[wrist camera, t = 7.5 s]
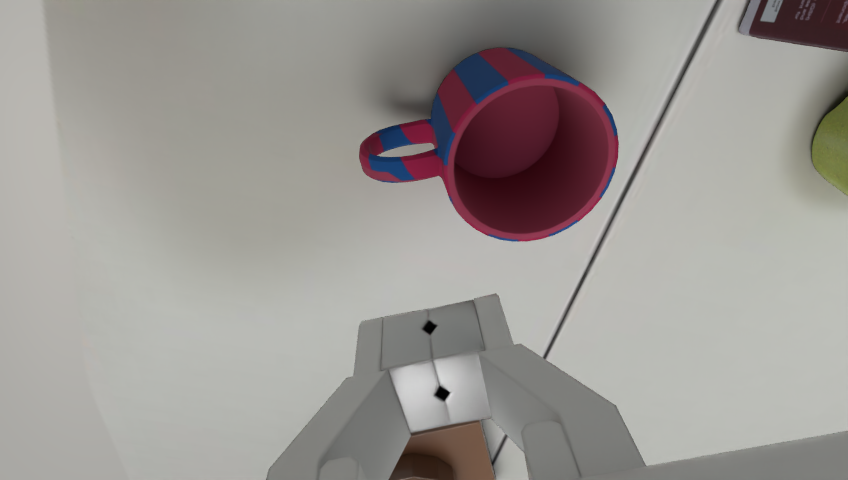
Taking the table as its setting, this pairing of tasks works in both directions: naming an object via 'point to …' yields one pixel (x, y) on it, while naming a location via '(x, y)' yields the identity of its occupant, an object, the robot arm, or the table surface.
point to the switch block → (446, 454)
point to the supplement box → (799, 22)
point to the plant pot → (833, 147)
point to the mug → (507, 146)
